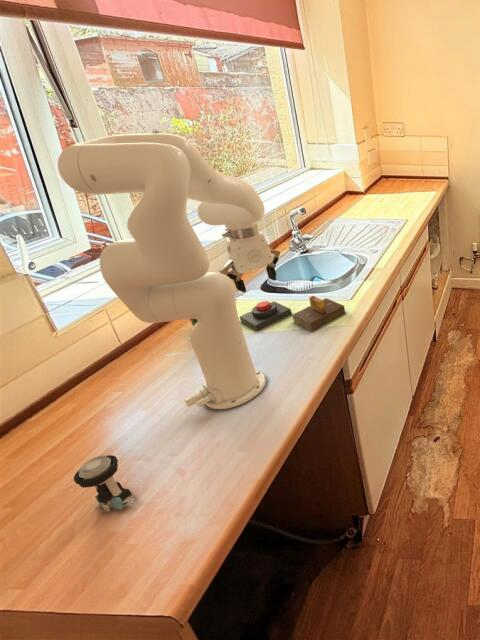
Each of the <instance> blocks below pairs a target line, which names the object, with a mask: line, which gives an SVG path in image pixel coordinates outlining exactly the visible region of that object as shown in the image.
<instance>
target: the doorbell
mask: <svg viewBox="0 0 480 640" xmlns="http://www.w3.org/2000/svg"><path fill="white" fill-rule="evenodd" d="M270 306H271V308H270V309H268V310H266V311H258V310H257V306H256V305H255V306H254V307H252V309H251V311H249V312H246V313H244V314H242V315H240V316H239V321H240V324H243V325H245V326H247V327H248V328H251V329H252V330H254V331H256V332H259V331H261V330H263V329H265V328H267V327H270V326H271V325H273V324H275V323H278V322H279V321H281V320H283V319H286V318H288V317H290V316H291V315H293V313H292V310H291V308H289V307H288V306H285V305H283V304H280V303H278V302H277V301H270Z"/></svg>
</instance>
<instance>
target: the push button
mask: <svg viewBox="0 0 480 640" xmlns="http://www.w3.org/2000/svg"><path fill="white" fill-rule="evenodd" d="M118 462H119V460H118V458H117V456H115V455H112V454H111V455H110V454H108V455H98V456H96V457H95V456H94V457H93V458H90V459H89V460H87V461H86V462H84V463H83V464H82V465H81V466H80V467H79V469H78V470H77V471H76V472H75V474H74V477H73V481H74V483H75V484H77V485H79V487H81V488H82V489H86V488H93V487H94V488H95V491H96V493H97V494H96V495H95V496H94V498H95V499H96V501H97V502H98V505H99V506H100V507H102V508H103V510H104V511H106V512H111V509H117V510H121V511H122V510H124V509H125V508H126V507H134V506H136V504H137V503H138V502H137V501H135V500H136V498H134V497H132V496H133V494H132V491H131V490H130V489H129V488H124V487H123V485H122V484H121V482H120V481H116V480H115V478H114V477H113V476H114V475H115V474H116V473H117V471H118V467H119V463H118Z"/></svg>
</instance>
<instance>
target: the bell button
mask: <svg viewBox="0 0 480 640" xmlns="http://www.w3.org/2000/svg"><path fill="white" fill-rule="evenodd" d="M270 303H271V301H268V300H264V301H261V302H260V301H259V302H258V303H257V304H256V305H255V306H257V310H258V311H266V310H268V309H270V308H271V306H270Z"/></svg>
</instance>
